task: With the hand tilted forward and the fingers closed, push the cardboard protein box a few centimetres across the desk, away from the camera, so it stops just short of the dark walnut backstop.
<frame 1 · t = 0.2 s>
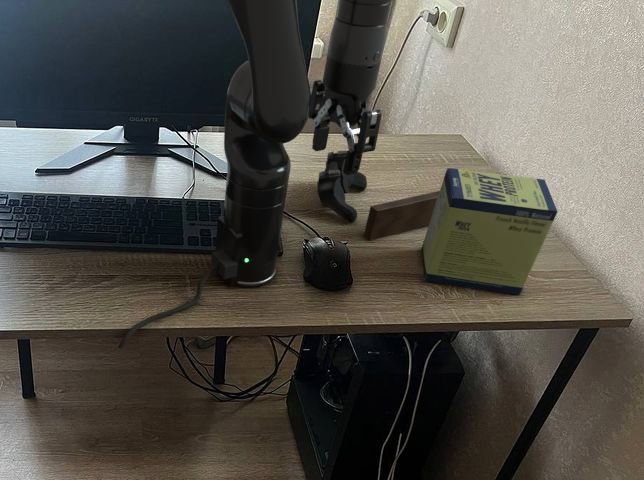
hand: (333, 161, 108), 17 cm above the table, tool pointing down, fingers open, 8 cm apart
backstop: (411, 227, 127), on the table
game controller: (338, 202, 134), on the table
protein box: (468, 272, 117), on the table
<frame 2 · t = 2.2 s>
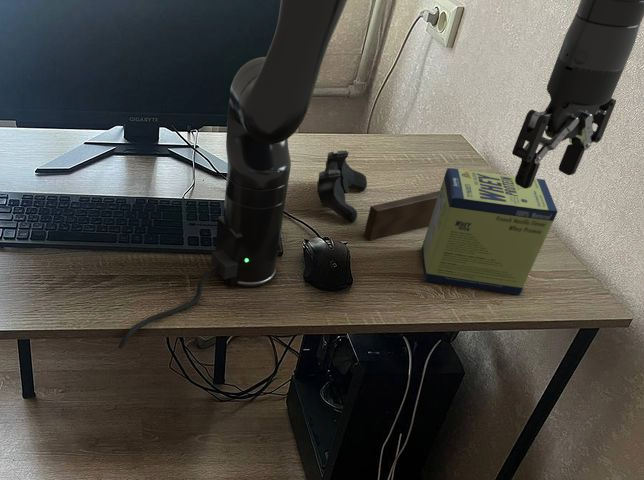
hand: (544, 179, 95), 22 cm above the table, tool pointing down, fingers open, 8 cm apart
nothing on the table moved.
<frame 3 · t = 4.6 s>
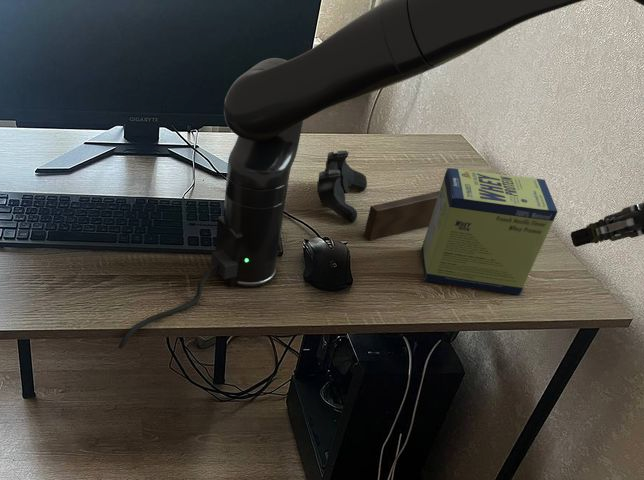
hand: (575, 239, 97), 15 cm above the table, tool tilted 45°, fingers closed
nothing on the table moved.
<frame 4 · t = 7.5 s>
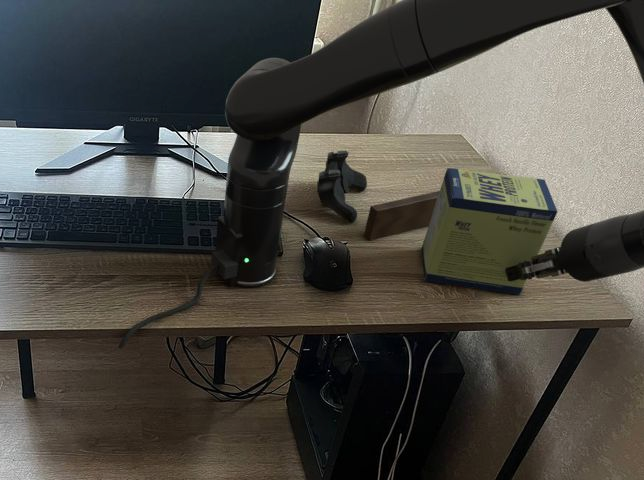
hand: (509, 274, 109), 4 cm above the table, tool tilted 45°, fingers closed
protein box: (468, 272, 117), on the table, touching gripper
everything else where it was.
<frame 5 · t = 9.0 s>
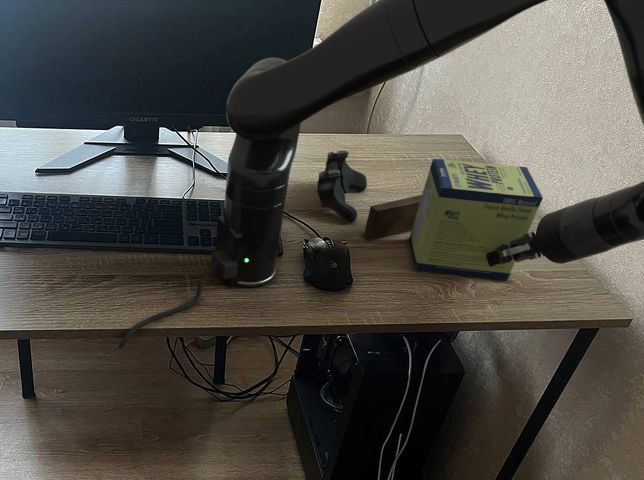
hand: (490, 259, 112), 4 cm above the table, tool tilted 45°, fingers closed
protein box: (456, 260, 120), on the table, touching gripper
everything else where it was.
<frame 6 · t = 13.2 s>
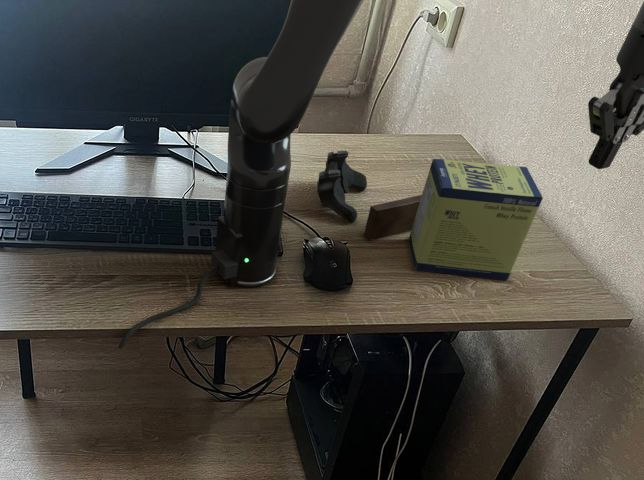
hand: (597, 165, 91), 25 cm above the table, tool pointing down, fingers closed
protein box: (456, 260, 120), on the table
everything else where it was.
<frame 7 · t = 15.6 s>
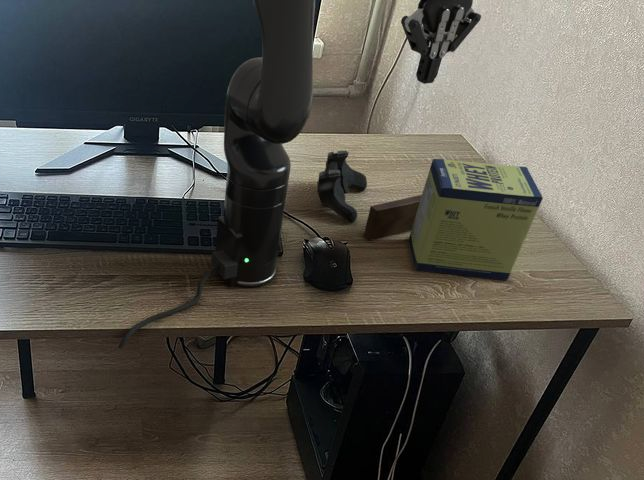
hand: (424, 81, 104), 28 cm above the table, tool pointing down, fingers closed
nothing on the table moved.
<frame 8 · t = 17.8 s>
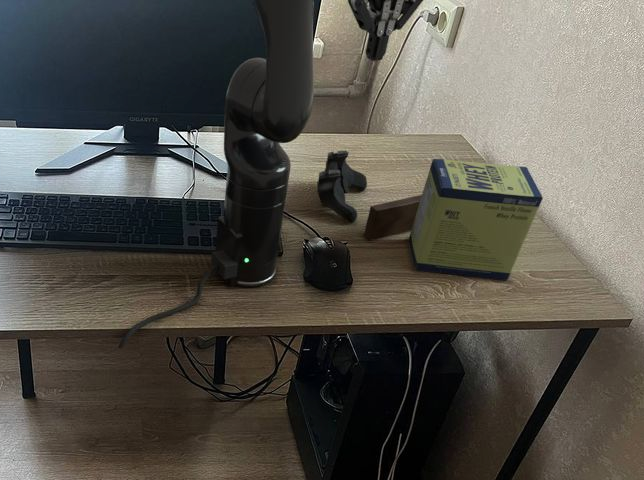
hand: (373, 59, 109), 29 cm above the table, tool pointing down, fingers closed
nothing on the table moved.
at the end: protein box inside the target area (0.3 cm from its centre), on the table; protein box moved 3.8 cm from its start; protein box tilted 0° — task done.
